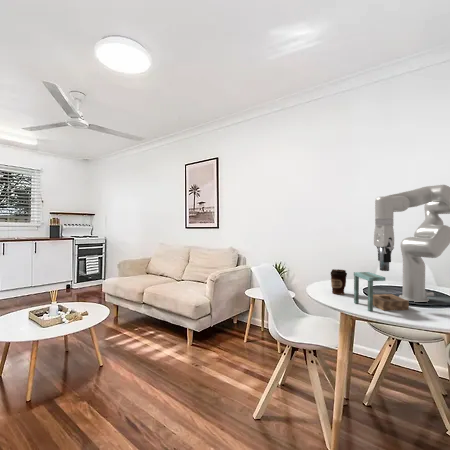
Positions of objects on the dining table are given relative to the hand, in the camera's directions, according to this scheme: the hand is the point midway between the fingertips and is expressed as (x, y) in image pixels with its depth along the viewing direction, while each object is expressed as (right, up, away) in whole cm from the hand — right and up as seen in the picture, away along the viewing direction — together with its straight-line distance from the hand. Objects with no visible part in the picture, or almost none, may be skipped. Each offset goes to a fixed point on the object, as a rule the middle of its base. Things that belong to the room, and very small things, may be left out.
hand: (384, 261), depth 135 cm
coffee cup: (-13, -21, +22) cm, 33 cm away
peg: (0, -4, 0) cm, 4 cm away
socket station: (-3, -21, -1) cm, 21 cm away
